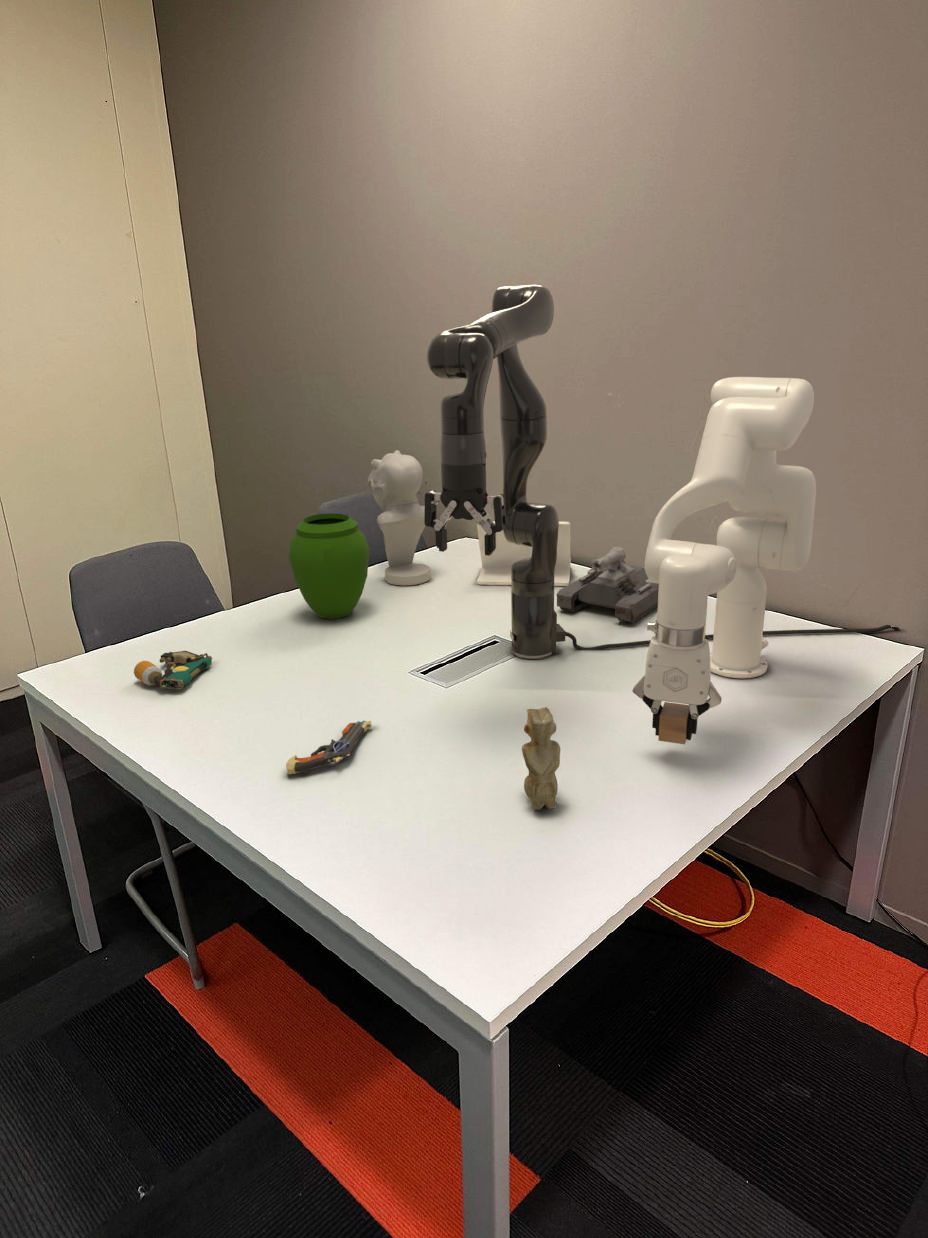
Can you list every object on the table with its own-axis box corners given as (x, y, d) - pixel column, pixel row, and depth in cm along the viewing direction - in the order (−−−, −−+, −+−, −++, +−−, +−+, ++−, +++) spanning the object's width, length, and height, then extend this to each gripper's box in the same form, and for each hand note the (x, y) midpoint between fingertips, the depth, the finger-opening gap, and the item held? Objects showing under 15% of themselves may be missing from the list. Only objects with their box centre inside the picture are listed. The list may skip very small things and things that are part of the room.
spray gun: (177, 659, 191) (231, 671, 185) (120, 684, 176) (176, 698, 171) (176, 641, 190) (230, 653, 184) (118, 665, 175) (174, 678, 169)
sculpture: (556, 787, 135) (557, 702, 130) (563, 813, 129) (564, 724, 123) (519, 789, 135) (519, 704, 130) (524, 815, 129) (524, 726, 123)
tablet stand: (569, 585, 229) (570, 524, 223) (476, 584, 232) (475, 523, 226) (570, 566, 246) (571, 508, 240) (484, 564, 249) (483, 507, 243)
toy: (603, 584, 229) (605, 530, 224) (673, 597, 218) (677, 540, 213) (555, 612, 210) (556, 553, 205) (630, 627, 199) (633, 566, 194)
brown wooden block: (663, 726, 145) (664, 701, 143) (689, 730, 144) (691, 705, 142) (658, 740, 141) (659, 715, 139) (685, 744, 139) (686, 718, 137)
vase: (389, 608, 216) (383, 514, 208) (339, 633, 201) (330, 533, 192) (330, 596, 226) (322, 506, 218) (278, 619, 211) (267, 523, 202)
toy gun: (281, 764, 140) (338, 761, 138) (320, 718, 158) (372, 715, 156) (284, 779, 141) (341, 777, 139) (323, 732, 159) (374, 729, 156)
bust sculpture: (408, 559, 256) (402, 442, 244) (444, 580, 236) (440, 453, 224) (358, 568, 250) (349, 447, 237) (391, 590, 230) (383, 460, 217)
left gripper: (415, 461, 142) (419, 555, 147) (496, 464, 137) (497, 562, 142) (433, 453, 148) (436, 543, 154) (510, 456, 143) (511, 549, 149)
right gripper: (623, 635, 135) (619, 737, 142) (733, 647, 129) (724, 753, 136) (631, 618, 142) (627, 717, 148) (737, 629, 136) (728, 731, 142)
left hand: (465, 552), depth 148 cm, fingers open, 8 cm apart
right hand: (674, 733), depth 142 cm, fingers closed on brown wooden block, 4 cm apart
